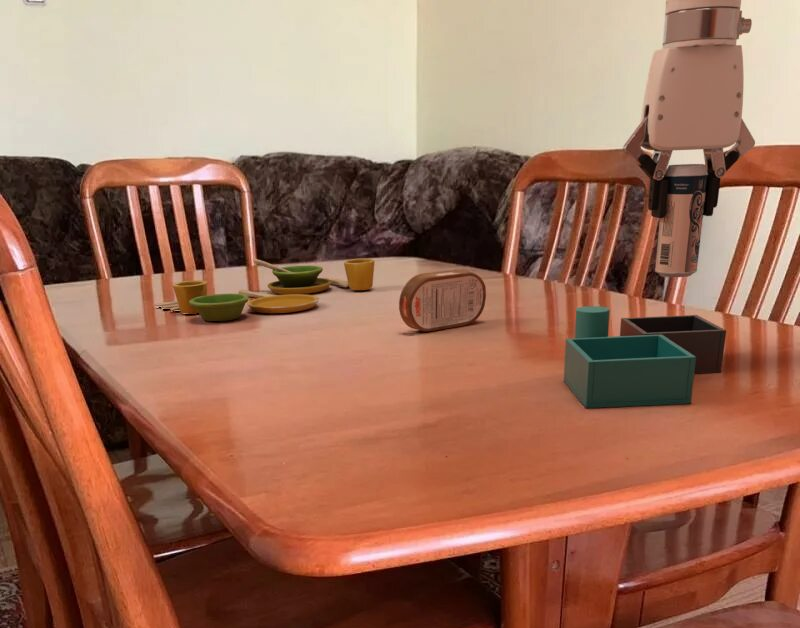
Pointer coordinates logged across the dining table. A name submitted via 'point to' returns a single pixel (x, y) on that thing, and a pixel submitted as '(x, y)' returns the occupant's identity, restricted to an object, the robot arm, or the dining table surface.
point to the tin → (442, 300)
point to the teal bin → (628, 371)
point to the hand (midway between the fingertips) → (681, 214)
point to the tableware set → (290, 282)
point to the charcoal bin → (684, 337)
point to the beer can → (681, 221)
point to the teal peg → (592, 322)
